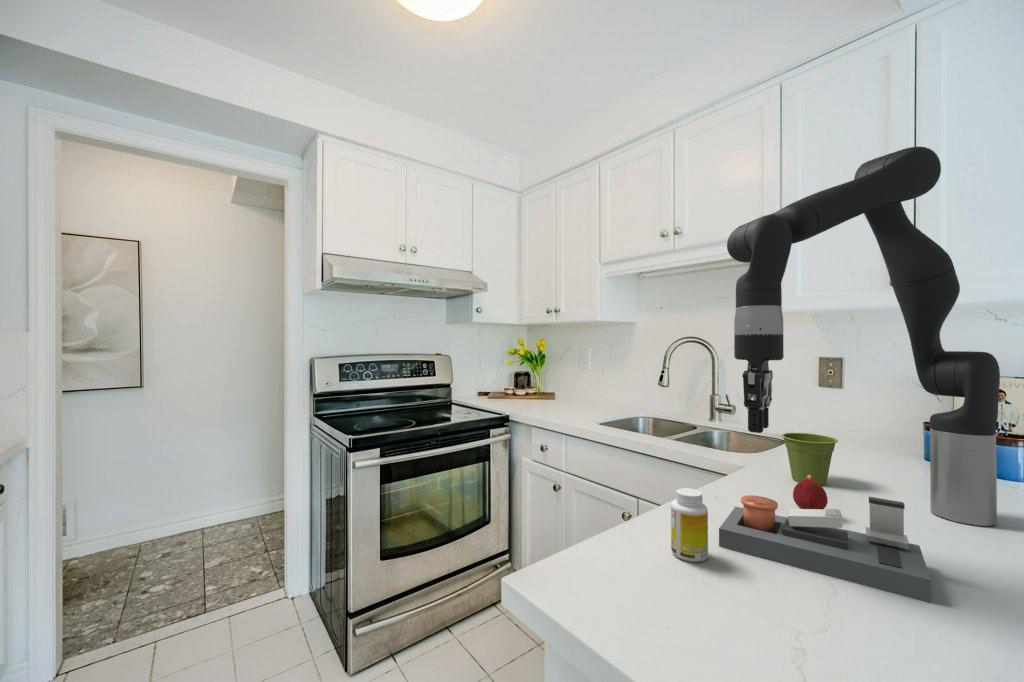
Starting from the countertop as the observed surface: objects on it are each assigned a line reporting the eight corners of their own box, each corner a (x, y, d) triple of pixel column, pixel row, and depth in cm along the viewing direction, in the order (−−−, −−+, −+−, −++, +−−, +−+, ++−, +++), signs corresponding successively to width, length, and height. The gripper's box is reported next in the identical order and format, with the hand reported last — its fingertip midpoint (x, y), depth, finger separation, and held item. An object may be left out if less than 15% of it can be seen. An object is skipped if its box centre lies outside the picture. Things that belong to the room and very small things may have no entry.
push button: (744, 517, 79) (744, 493, 80) (780, 525, 76) (779, 500, 76) (737, 527, 75) (737, 501, 75) (775, 535, 72) (775, 509, 72)
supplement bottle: (715, 559, 69) (715, 494, 69) (690, 566, 67) (690, 499, 67) (687, 544, 74) (687, 484, 74) (663, 551, 72) (663, 489, 72)
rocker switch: (792, 518, 74) (789, 507, 74) (842, 520, 70) (839, 508, 70) (789, 526, 71) (787, 514, 71) (842, 528, 67) (839, 515, 67)
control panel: (735, 522, 84) (735, 501, 84) (919, 564, 68) (919, 538, 68) (719, 546, 73) (718, 522, 74) (931, 602, 57) (930, 572, 57)
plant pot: (770, 476, 114) (770, 433, 114) (807, 473, 117) (806, 431, 117) (811, 490, 103) (811, 443, 103) (850, 487, 105) (850, 440, 106)
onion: (833, 522, 84) (833, 480, 84) (800, 519, 85) (800, 478, 85) (818, 511, 90) (818, 472, 90) (788, 509, 91) (787, 470, 91)
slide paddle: (865, 531, 71) (865, 494, 71) (906, 540, 68) (906, 500, 68) (866, 540, 68) (865, 500, 68) (909, 549, 65) (908, 508, 65)
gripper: (777, 331, 68) (777, 439, 68) (788, 333, 79) (788, 426, 79) (725, 332, 73) (725, 433, 73) (742, 334, 84) (742, 422, 84)
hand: (758, 429), depth 76 cm, fingers open, 5 cm apart
